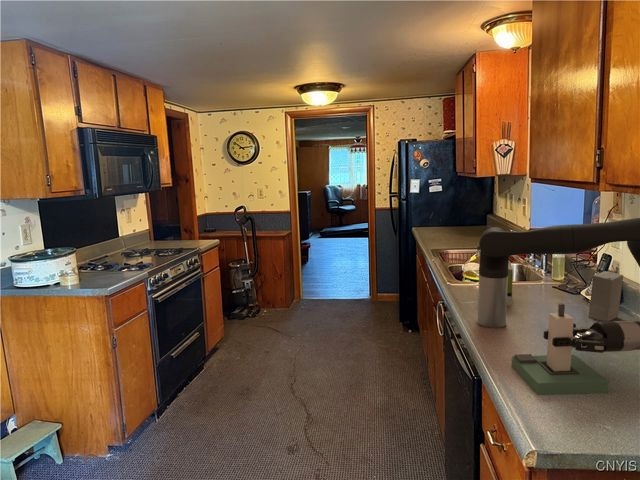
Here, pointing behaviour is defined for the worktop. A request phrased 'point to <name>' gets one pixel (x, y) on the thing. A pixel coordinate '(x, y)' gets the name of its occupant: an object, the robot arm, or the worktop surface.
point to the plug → (559, 328)
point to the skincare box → (605, 296)
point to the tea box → (509, 284)
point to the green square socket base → (558, 376)
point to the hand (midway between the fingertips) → (548, 338)
